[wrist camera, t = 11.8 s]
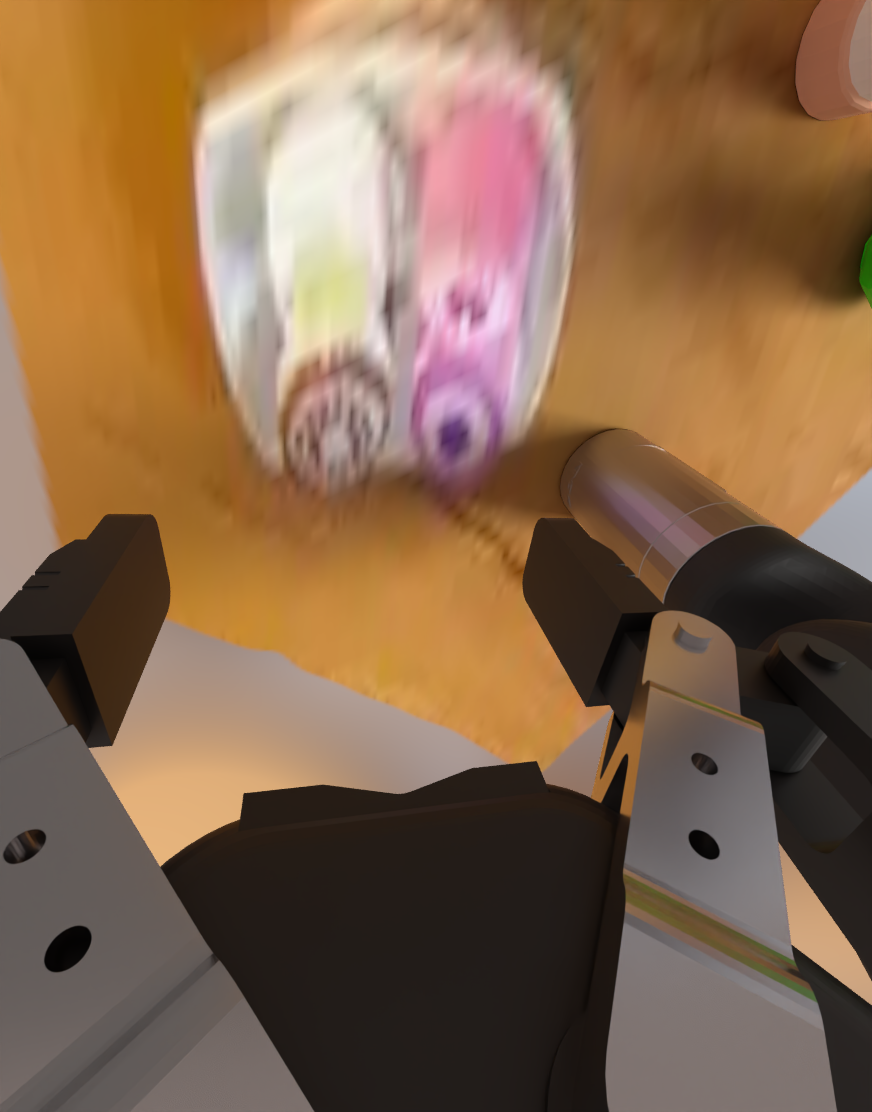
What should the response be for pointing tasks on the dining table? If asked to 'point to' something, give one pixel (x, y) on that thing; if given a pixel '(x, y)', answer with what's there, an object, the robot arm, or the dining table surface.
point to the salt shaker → (836, 60)
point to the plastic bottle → (867, 270)
